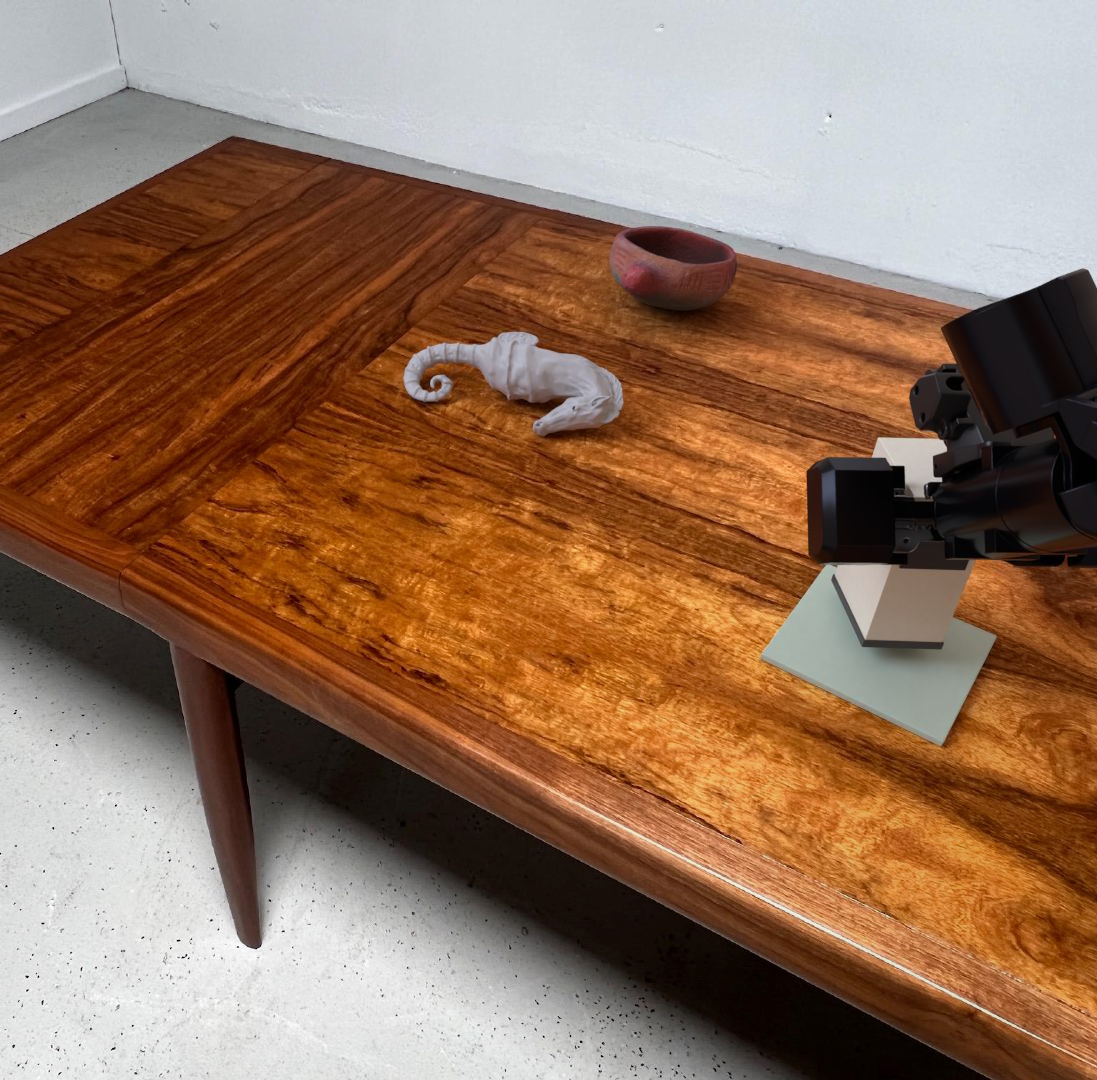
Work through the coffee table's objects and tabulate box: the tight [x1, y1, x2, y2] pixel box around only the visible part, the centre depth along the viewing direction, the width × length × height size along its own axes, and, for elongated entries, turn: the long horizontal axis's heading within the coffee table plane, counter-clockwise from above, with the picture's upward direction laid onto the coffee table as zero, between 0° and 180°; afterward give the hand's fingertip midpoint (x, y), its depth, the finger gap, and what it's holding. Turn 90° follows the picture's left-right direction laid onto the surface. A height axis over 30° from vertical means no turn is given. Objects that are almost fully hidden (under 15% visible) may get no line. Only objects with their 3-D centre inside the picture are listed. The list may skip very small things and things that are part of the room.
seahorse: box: [402, 331, 624, 437], centre depth 95 cm, size 5×12×20 cm
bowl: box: [609, 225, 738, 311], centre depth 107 cm, size 16×13×8 cm
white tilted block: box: [831, 437, 977, 650], centre depth 70 cm, size 5×7×12 cm
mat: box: [759, 565, 998, 747], centre depth 73 cm, size 12×12×1 cm
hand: (904, 527), depth 70 cm, fingers closed on white tilted block, 5 cm apart
